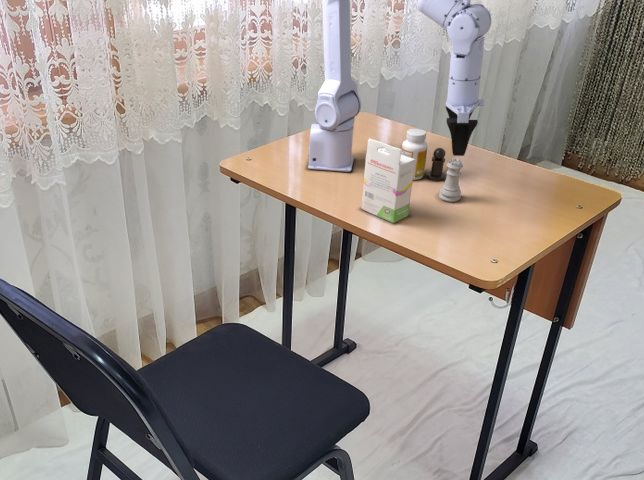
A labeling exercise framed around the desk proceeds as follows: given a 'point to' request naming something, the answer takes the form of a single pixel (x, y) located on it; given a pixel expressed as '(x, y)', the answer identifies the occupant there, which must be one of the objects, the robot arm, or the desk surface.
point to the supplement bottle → (416, 150)
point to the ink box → (387, 181)
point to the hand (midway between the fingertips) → (457, 148)
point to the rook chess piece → (452, 182)
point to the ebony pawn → (437, 166)
